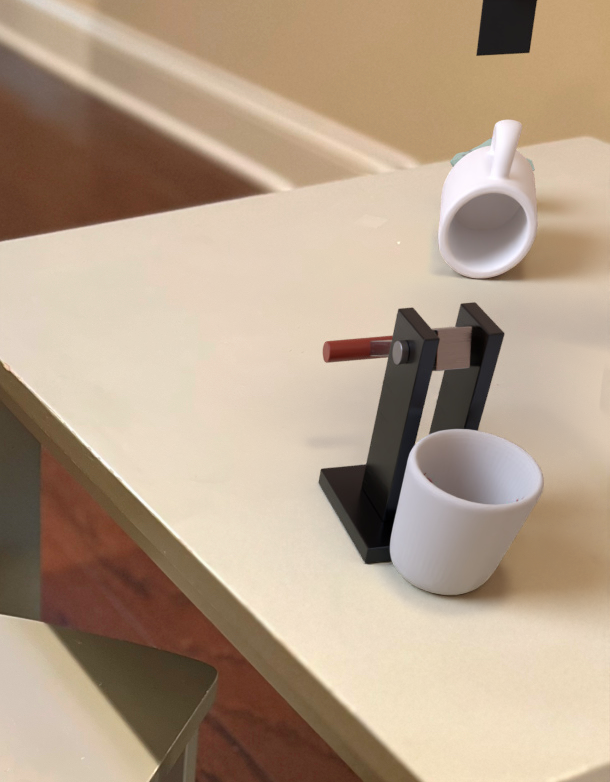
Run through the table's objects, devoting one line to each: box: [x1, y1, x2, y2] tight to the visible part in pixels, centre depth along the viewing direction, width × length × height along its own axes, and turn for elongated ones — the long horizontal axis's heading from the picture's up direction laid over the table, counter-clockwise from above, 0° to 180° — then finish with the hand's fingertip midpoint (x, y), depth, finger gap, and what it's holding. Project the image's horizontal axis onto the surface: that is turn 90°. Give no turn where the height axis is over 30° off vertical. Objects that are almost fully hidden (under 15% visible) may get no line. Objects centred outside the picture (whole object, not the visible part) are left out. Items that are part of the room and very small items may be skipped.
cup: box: [390, 429, 545, 596], centre depth 74 cm, size 11×8×8 cm
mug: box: [437, 119, 539, 279], centre depth 107 cm, size 8×10×12 cm
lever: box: [322, 326, 472, 372], centre depth 77 cm, size 13×7×2 cm, turn 8°
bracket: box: [317, 301, 505, 564], centre depth 76 cm, size 10×9×14 cm
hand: (508, 26), depth 69 cm, fingers open, 13 cm apart
